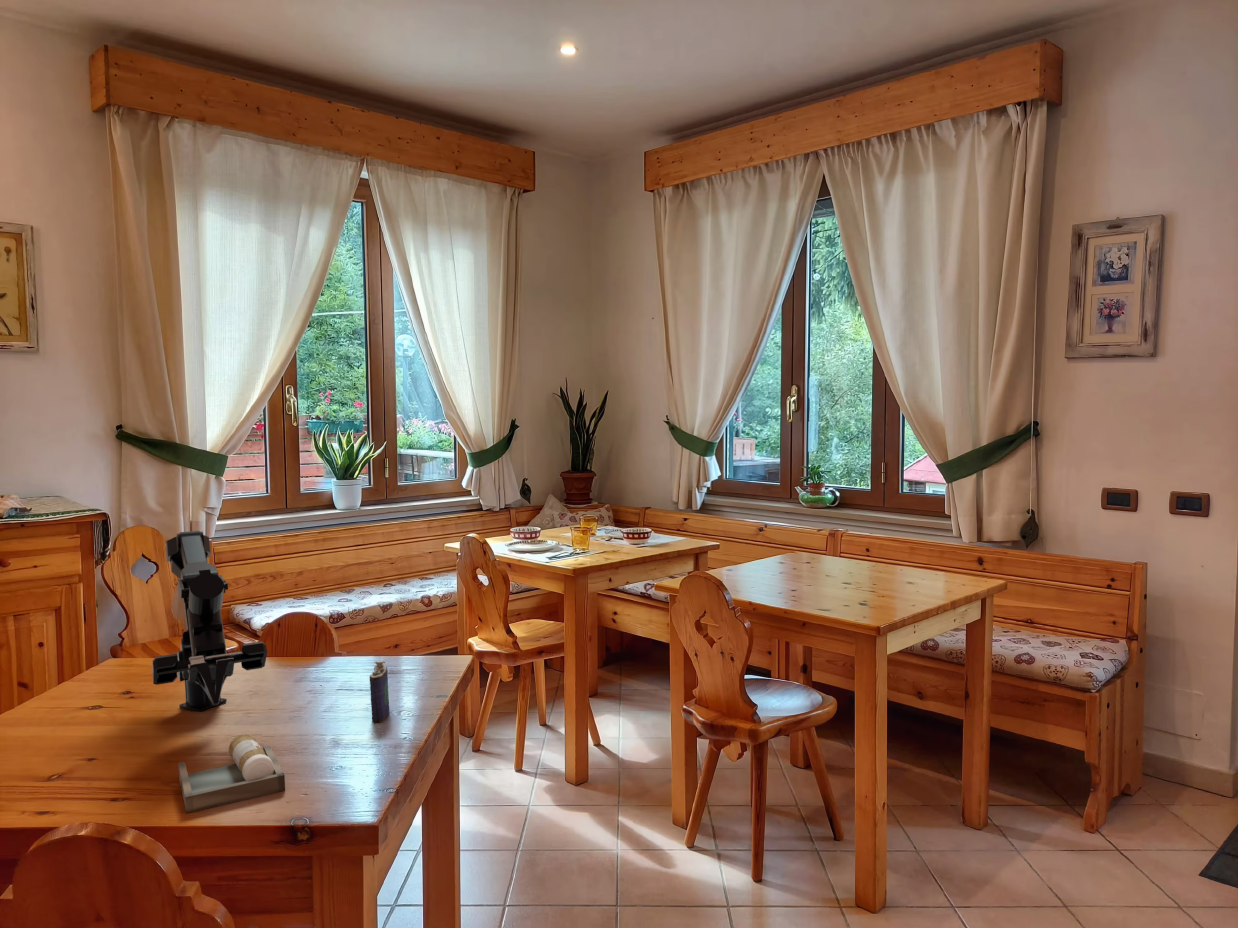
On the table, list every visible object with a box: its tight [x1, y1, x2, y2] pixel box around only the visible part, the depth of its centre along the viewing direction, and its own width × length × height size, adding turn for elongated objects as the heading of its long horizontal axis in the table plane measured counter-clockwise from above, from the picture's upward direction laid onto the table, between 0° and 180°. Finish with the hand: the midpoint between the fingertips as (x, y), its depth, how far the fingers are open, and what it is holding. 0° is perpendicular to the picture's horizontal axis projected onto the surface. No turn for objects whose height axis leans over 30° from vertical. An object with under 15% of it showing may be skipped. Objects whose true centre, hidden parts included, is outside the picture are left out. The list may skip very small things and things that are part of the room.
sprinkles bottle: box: [228, 733, 274, 781], centre depth 142 cm, size 5×5×13 cm
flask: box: [369, 661, 390, 725], centre depth 168 cm, size 9×3×11 cm, turn 8°
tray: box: [177, 744, 286, 814], centre depth 138 cm, size 14×14×2 cm
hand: (216, 704), depth 153 cm, fingers closed
